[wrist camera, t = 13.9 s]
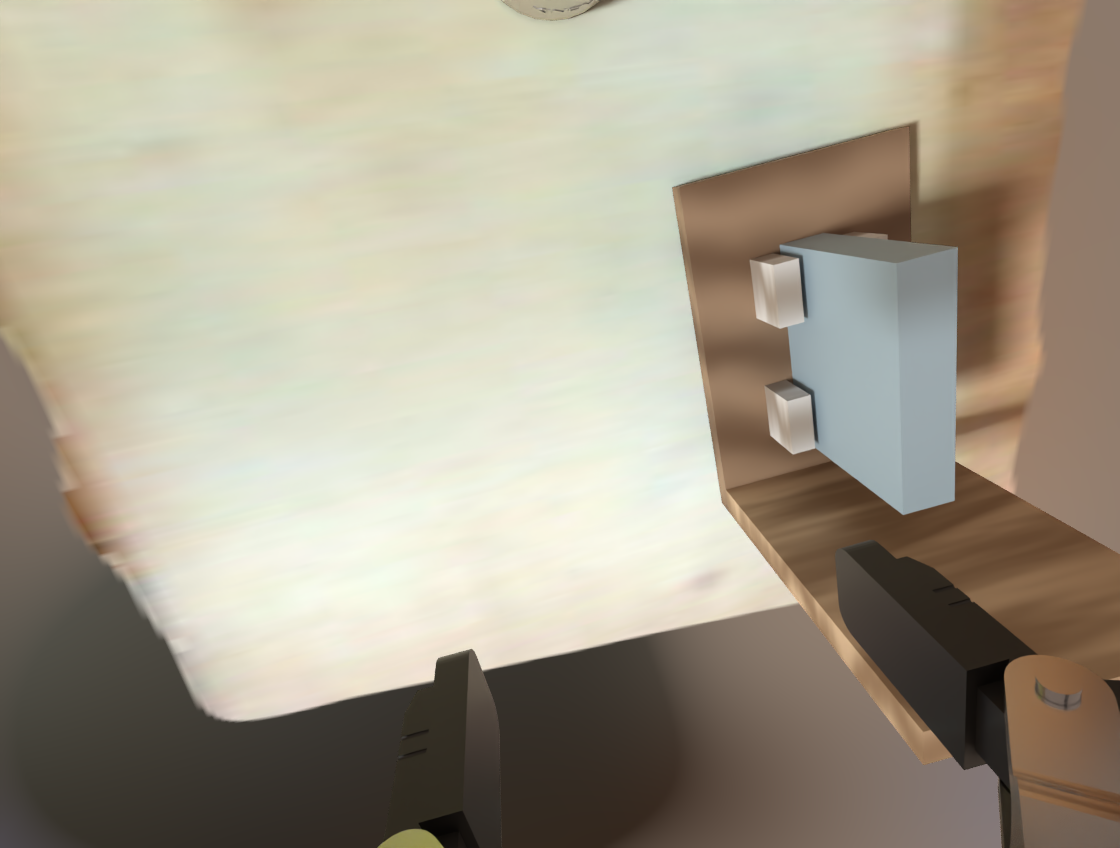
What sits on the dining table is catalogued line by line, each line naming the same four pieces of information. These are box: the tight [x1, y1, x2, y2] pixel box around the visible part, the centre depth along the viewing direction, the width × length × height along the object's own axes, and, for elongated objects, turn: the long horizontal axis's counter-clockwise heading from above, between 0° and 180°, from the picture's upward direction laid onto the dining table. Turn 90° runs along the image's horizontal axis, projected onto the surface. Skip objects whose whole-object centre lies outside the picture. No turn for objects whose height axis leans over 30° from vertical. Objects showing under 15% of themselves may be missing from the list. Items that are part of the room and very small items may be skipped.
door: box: [780, 233, 958, 515], centre depth 36 cm, size 14×4×12 cm, turn 14°
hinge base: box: [672, 126, 1120, 765], centre depth 32 cm, size 24×15×24 cm, turn 14°
